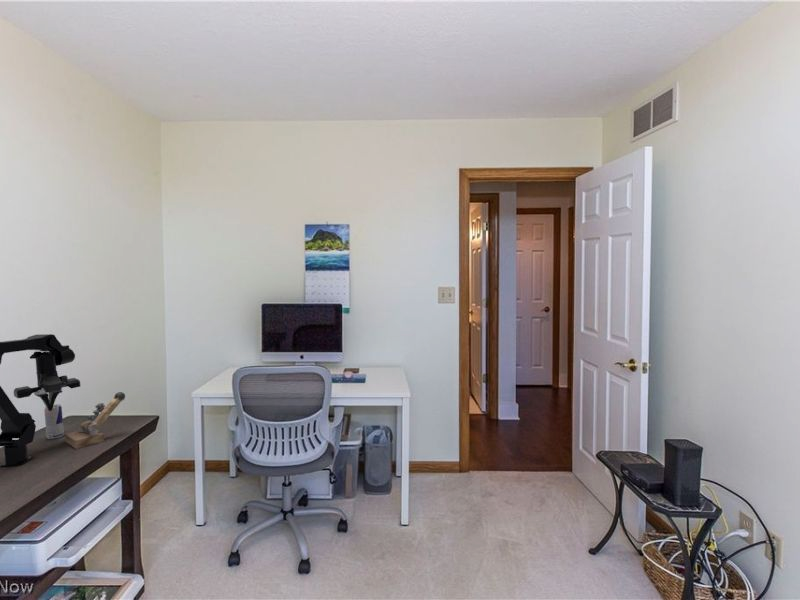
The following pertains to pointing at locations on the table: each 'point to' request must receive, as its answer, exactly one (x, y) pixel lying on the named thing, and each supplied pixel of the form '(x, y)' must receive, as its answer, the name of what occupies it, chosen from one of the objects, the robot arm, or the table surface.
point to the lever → (108, 409)
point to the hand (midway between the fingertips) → (50, 410)
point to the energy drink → (54, 422)
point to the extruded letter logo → (96, 412)
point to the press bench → (85, 436)
